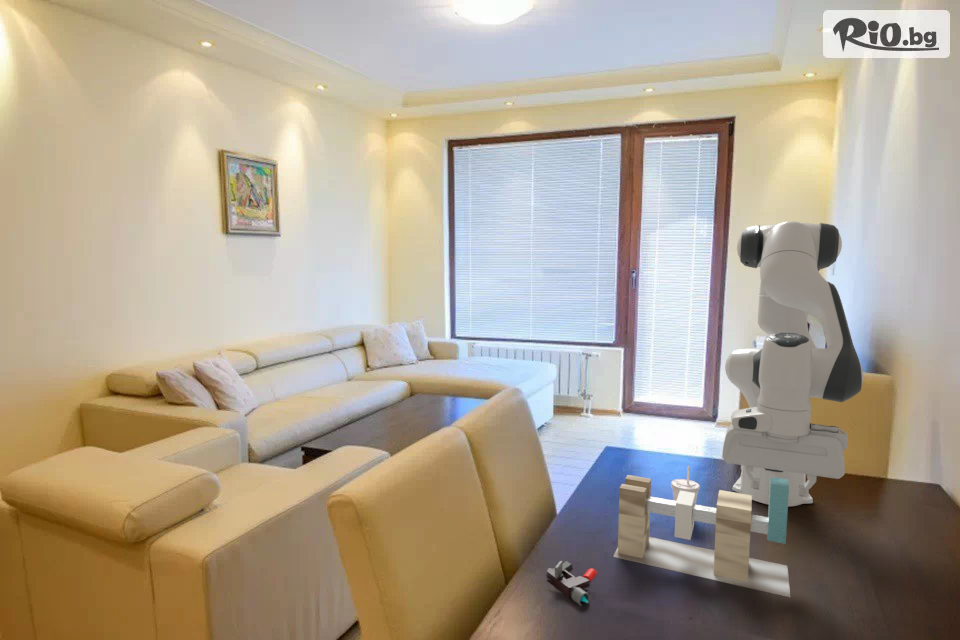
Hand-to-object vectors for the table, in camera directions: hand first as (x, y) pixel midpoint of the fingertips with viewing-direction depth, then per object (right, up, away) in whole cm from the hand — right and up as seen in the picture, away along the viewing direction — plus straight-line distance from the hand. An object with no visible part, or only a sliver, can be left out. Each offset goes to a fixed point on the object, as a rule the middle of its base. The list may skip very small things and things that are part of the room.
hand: (778, 492), depth 106 cm
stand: (-12, -18, +8) cm, 23 cm away
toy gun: (-38, -19, +1) cm, 42 cm away
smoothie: (-8, -16, +27) cm, 32 cm away
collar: (-15, -11, +8) cm, 20 cm away
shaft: (-11, -8, +6) cm, 15 cm away
